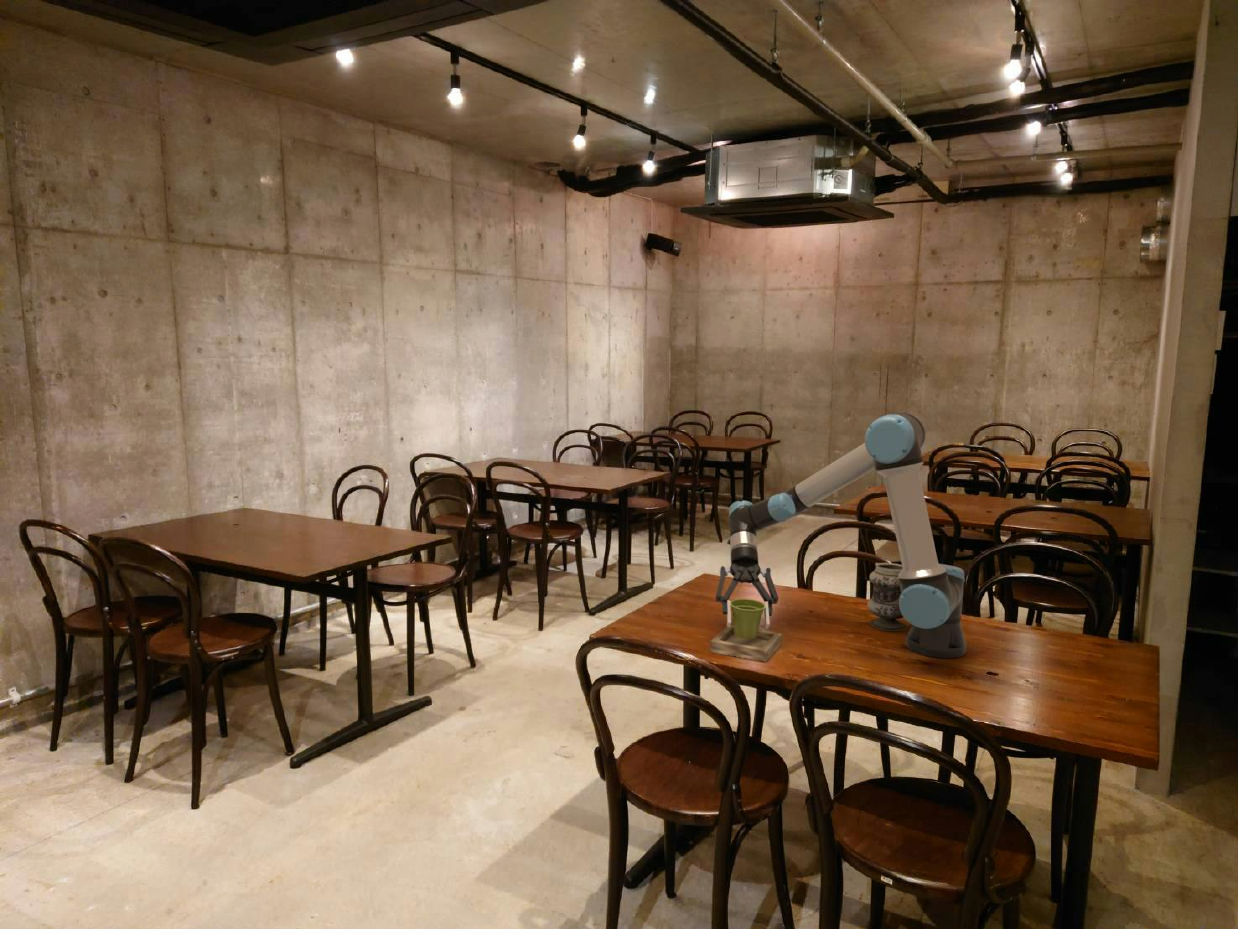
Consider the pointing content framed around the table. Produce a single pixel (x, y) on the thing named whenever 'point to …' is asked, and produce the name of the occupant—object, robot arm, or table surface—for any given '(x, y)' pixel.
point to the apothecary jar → (886, 597)
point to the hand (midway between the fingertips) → (748, 625)
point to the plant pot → (747, 617)
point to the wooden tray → (746, 644)
